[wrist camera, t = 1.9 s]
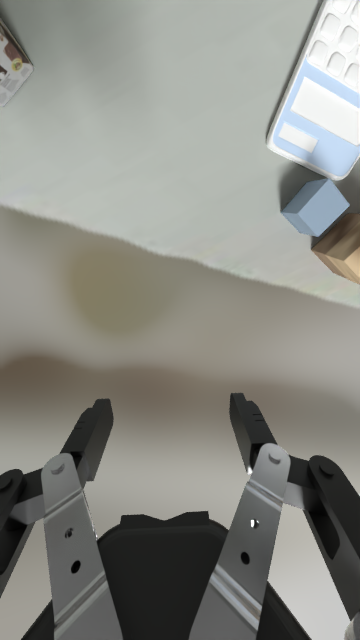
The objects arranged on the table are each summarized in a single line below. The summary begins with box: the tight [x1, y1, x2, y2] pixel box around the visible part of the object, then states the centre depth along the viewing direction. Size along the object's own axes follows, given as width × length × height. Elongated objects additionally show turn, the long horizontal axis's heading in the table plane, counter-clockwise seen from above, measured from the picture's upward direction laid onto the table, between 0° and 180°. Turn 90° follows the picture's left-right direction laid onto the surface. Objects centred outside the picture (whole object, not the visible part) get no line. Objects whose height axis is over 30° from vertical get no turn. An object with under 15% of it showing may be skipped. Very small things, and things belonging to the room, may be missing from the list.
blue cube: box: [281, 178, 350, 237], centre depth 29 cm, size 5×5×5 cm
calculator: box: [266, 0, 360, 181], centre depth 24 cm, size 13×20×2 cm, turn 161°
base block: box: [311, 213, 360, 278], centre depth 33 cm, size 7×7×4 cm
